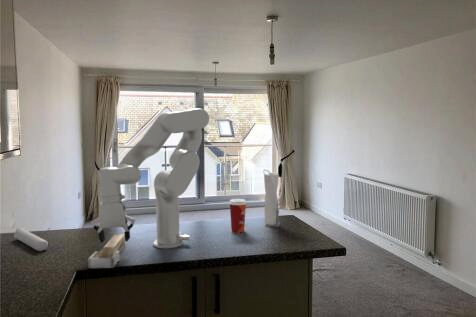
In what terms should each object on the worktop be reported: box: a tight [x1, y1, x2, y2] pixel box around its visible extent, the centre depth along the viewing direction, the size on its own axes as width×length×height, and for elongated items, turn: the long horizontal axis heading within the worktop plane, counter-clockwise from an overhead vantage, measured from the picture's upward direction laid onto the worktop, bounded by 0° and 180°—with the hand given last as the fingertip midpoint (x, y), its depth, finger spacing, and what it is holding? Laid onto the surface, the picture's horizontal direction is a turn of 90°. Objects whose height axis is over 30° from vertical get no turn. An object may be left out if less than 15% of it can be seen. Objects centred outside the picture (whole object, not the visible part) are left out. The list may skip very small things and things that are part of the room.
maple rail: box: [98, 233, 126, 258], centre depth 149 cm, size 4×22×5 cm, turn 3°
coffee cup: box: [228, 198, 247, 234], centre depth 179 cm, size 8×8×15 cm
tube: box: [13, 227, 49, 252], centre depth 161 cm, size 5×5×25 cm
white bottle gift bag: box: [263, 169, 281, 228], centre depth 189 cm, size 8×8×28 cm
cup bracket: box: [87, 251, 121, 269], centre depth 139 cm, size 9×8×4 cm
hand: (114, 240), depth 149 cm, fingers open, 9 cm apart
